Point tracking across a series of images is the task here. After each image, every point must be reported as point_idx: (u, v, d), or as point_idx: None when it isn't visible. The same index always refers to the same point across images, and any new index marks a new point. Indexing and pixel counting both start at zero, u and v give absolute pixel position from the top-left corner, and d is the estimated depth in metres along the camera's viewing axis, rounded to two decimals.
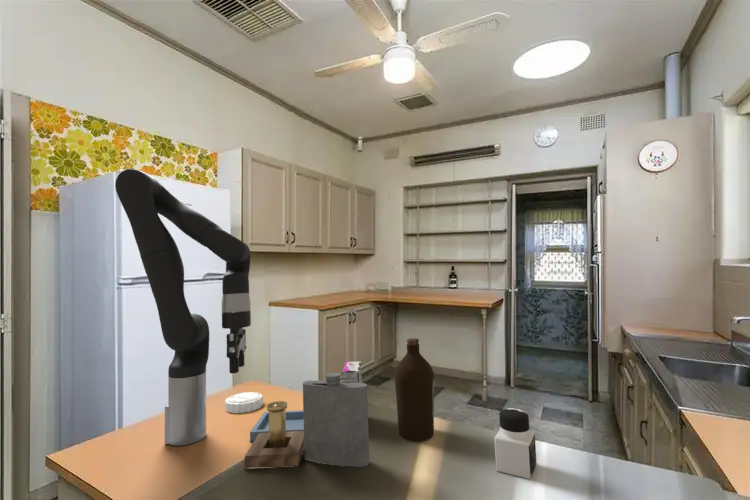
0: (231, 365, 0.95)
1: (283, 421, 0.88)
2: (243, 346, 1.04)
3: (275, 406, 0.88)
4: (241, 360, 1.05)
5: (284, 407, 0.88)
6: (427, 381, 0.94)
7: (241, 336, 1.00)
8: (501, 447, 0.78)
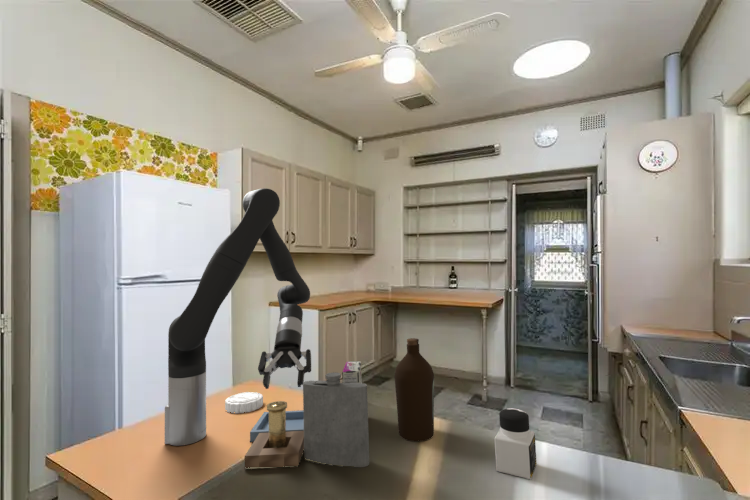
0: (303, 377, 0.99)
1: (283, 421, 0.88)
2: (275, 370, 1.02)
3: (275, 406, 0.88)
4: (269, 382, 0.99)
5: (284, 407, 0.88)
6: (427, 381, 0.94)
7: None
8: (501, 447, 0.78)
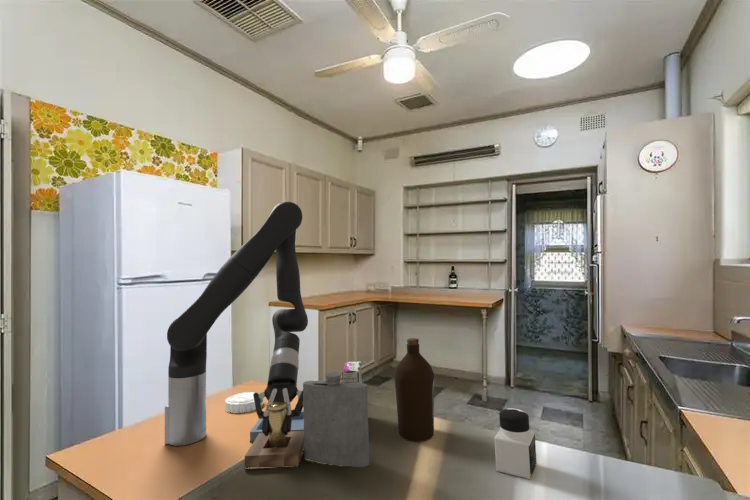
0: (290, 423, 0.88)
1: (283, 421, 0.88)
2: None
3: (275, 406, 0.88)
4: (268, 427, 0.88)
5: (284, 407, 0.88)
6: (427, 381, 0.94)
7: None
8: (501, 447, 0.78)
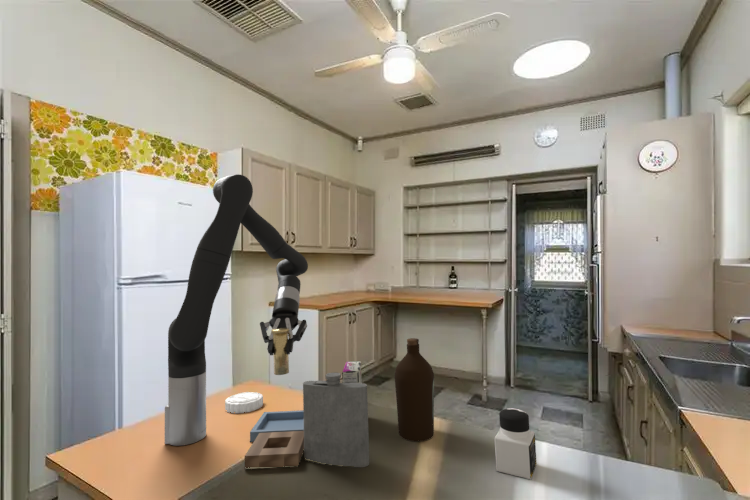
0: (292, 345, 1.01)
1: (286, 343, 1.01)
2: None
3: (278, 330, 1.01)
4: None
5: (286, 331, 1.01)
6: (427, 381, 0.94)
7: None
8: (501, 447, 0.78)
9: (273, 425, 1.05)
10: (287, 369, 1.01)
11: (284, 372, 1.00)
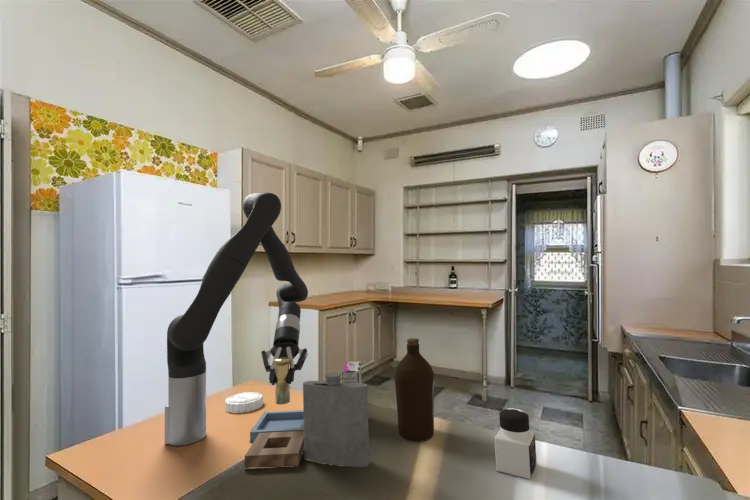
0: (293, 374, 1.04)
1: (287, 372, 1.03)
2: None
3: (280, 360, 1.03)
4: None
5: (288, 361, 1.03)
6: (427, 381, 0.94)
7: None
8: (501, 447, 0.78)
9: (273, 425, 1.05)
10: (288, 398, 1.03)
11: (285, 401, 1.02)
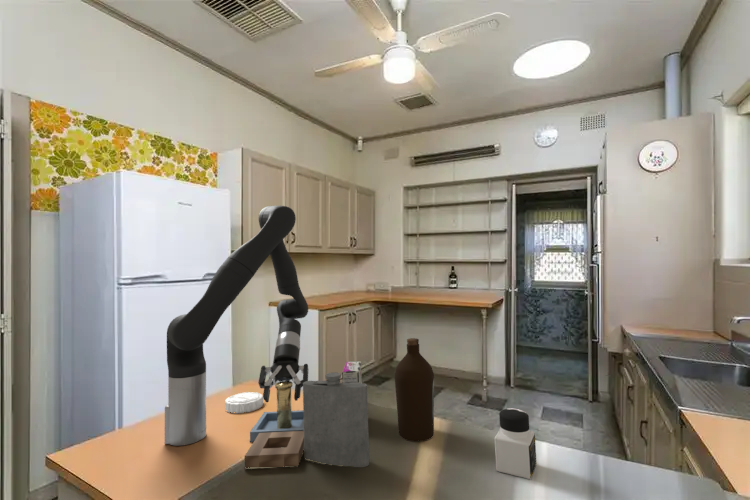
0: (300, 391, 1.04)
1: (289, 397, 1.03)
2: (274, 383, 1.07)
3: (282, 384, 1.03)
4: (268, 395, 1.04)
5: (290, 385, 1.03)
6: (427, 381, 0.94)
7: None
8: (501, 447, 0.78)
9: (273, 425, 1.05)
10: (290, 423, 1.03)
11: (287, 427, 1.02)
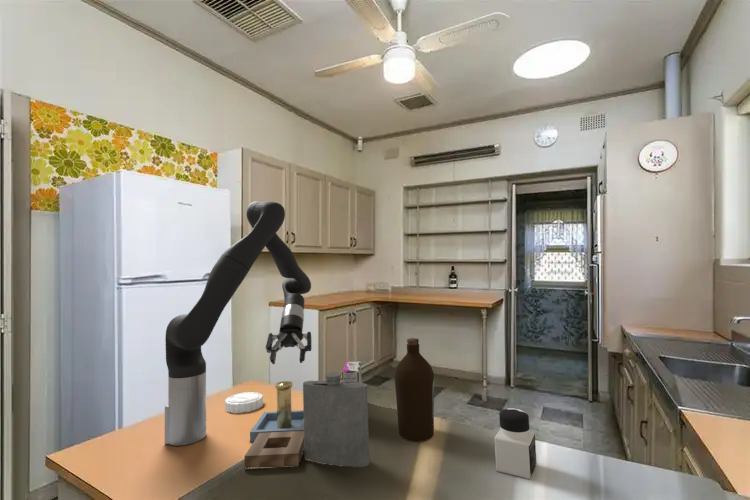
0: (304, 354, 1.16)
1: (289, 397, 1.03)
2: (280, 349, 1.19)
3: (282, 385, 1.03)
4: (275, 358, 1.15)
5: (290, 385, 1.03)
6: (427, 381, 0.94)
7: None
8: (501, 447, 0.78)
9: (273, 425, 1.05)
10: (290, 423, 1.03)
11: (287, 427, 1.02)
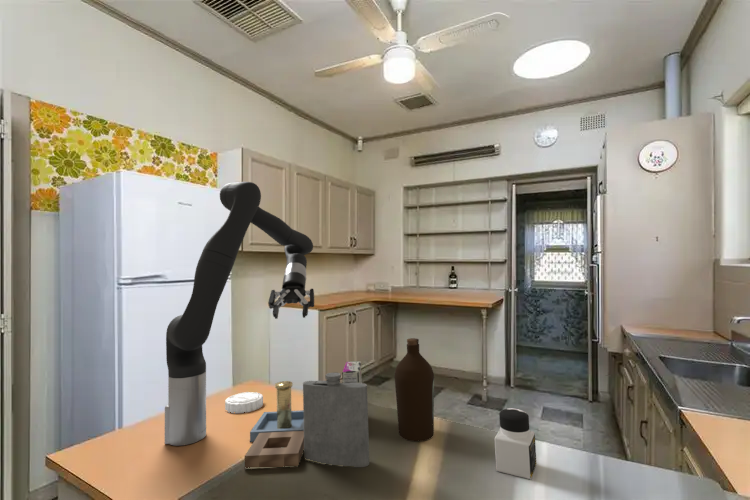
0: (307, 309, 1.15)
1: (289, 397, 1.03)
2: (282, 305, 1.18)
3: (282, 384, 1.03)
4: (277, 313, 1.14)
5: (290, 385, 1.03)
6: (427, 381, 0.94)
7: None
8: (501, 447, 0.78)
9: (273, 425, 1.05)
10: (290, 423, 1.03)
11: (287, 427, 1.02)
